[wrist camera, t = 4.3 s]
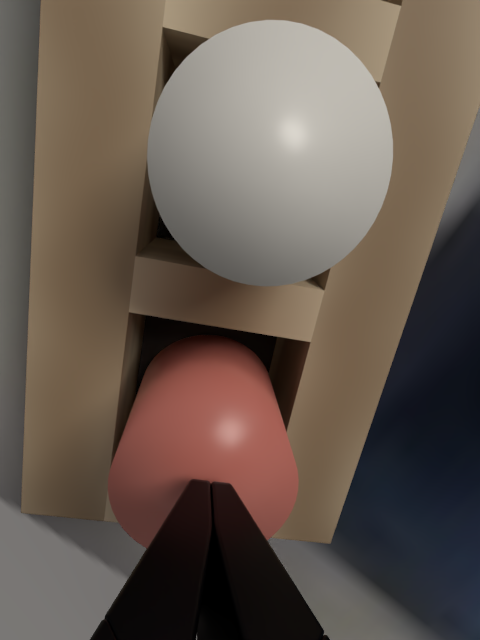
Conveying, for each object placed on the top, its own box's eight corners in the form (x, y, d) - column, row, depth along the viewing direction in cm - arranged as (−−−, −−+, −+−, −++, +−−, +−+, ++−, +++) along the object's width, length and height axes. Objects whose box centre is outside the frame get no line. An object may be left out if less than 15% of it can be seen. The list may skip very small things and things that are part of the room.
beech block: (501, -210, 11) (661, -427, 7) (304, 465, 17) (330, 543, 13) (125, -348, 9) (68, -706, 6) (66, 436, 16) (20, 513, 12)
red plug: (285, 346, 12) (319, 421, 8) (256, 458, 13) (275, 569, 9) (149, 324, 11) (118, 393, 8) (133, 442, 13) (99, 553, 9)
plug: (344, 106, 10) (427, 57, 6) (305, 263, 11) (354, 304, 7) (184, 67, 9) (166, -13, 6) (161, 236, 11) (132, 264, 7)
